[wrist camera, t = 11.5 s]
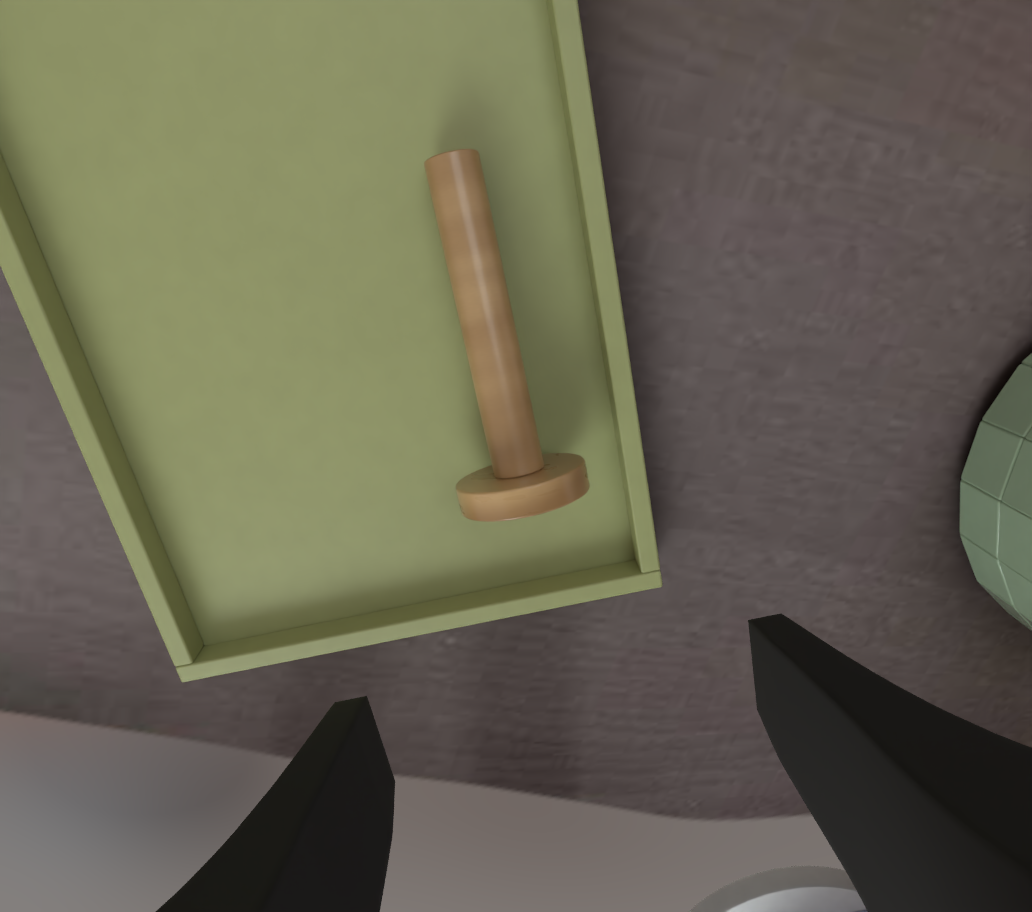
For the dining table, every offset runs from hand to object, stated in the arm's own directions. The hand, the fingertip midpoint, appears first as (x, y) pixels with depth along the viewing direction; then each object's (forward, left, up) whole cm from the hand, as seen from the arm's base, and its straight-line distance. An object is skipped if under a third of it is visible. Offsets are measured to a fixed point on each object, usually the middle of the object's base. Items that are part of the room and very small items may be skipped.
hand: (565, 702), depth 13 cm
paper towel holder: (+1, 0, -7) cm, 7 cm away
